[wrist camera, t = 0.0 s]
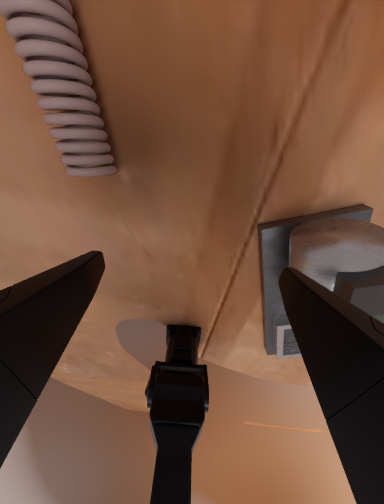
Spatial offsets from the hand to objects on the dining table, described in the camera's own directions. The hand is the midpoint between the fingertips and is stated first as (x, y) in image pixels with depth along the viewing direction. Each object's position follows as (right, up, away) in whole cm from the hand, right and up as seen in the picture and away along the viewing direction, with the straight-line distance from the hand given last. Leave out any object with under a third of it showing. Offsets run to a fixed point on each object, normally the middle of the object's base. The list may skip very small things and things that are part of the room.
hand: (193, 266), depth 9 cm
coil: (-11, +17, +7) cm, 22 cm away
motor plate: (+17, -6, +21) cm, 28 cm away
